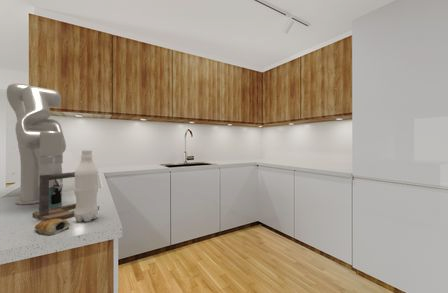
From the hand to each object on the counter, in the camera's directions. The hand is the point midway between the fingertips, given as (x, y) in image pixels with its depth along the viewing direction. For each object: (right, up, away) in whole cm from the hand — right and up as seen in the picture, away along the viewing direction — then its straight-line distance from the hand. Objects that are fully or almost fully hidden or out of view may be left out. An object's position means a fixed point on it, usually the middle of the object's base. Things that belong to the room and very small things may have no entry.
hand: (51, 202), depth 87 cm
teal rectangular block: (0, -3, 0) cm, 3 cm away
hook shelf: (+11, -3, -5) cm, 12 cm away
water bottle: (+23, -3, -12) cm, 26 cm away
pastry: (+18, -4, -22) cm, 29 cm away
